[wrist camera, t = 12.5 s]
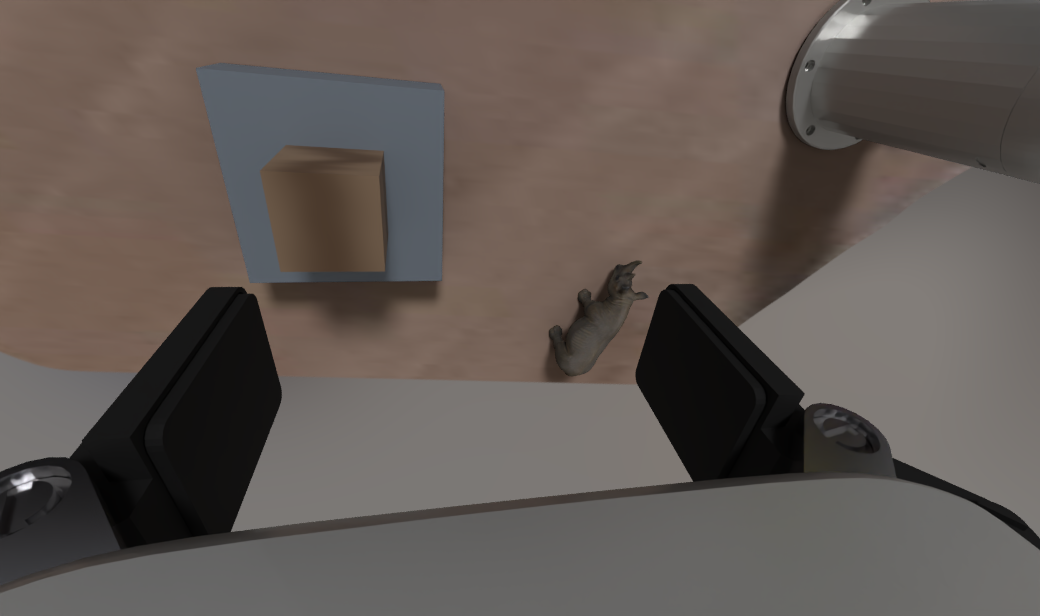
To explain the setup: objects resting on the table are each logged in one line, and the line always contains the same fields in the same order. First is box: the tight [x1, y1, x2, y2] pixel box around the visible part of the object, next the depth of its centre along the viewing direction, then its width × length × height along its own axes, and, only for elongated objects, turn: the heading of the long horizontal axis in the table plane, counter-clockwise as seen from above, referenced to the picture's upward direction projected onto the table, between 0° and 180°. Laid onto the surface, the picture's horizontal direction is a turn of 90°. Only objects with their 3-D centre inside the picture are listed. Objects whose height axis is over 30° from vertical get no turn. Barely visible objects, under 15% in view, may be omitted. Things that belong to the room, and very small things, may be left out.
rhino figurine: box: [549, 261, 648, 376], centre depth 43 cm, size 4×14×6 cm, turn 147°
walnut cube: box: [260, 145, 388, 272], centre depth 28 cm, size 6×6×6 cm
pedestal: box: [196, 63, 444, 283], centre depth 32 cm, size 14×14×4 cm
